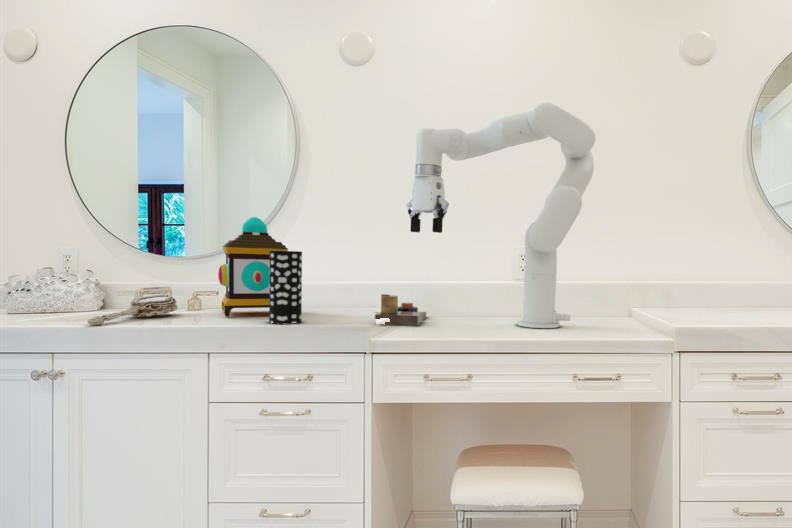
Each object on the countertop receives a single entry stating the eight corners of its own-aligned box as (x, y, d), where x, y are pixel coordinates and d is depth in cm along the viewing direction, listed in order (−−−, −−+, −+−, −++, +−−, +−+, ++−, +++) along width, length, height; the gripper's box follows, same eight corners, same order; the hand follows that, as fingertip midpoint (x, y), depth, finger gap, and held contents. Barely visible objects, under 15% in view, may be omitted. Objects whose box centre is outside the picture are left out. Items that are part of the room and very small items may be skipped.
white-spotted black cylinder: (290, 319, 160) (290, 251, 159) (307, 322, 155) (308, 251, 154) (263, 322, 153) (263, 250, 152) (280, 325, 149) (280, 251, 147)
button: (413, 308, 175) (413, 302, 175) (411, 309, 171) (411, 303, 171) (402, 307, 175) (402, 302, 175) (400, 308, 171) (400, 303, 171)
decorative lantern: (219, 318, 157) (219, 213, 155) (216, 311, 174) (216, 216, 172) (294, 316, 167) (294, 217, 165) (284, 309, 184) (284, 220, 182)
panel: (422, 322, 165) (422, 311, 165) (417, 326, 155) (417, 315, 155) (377, 320, 165) (377, 310, 165) (369, 324, 155) (369, 313, 155)
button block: (426, 317, 178) (426, 306, 178) (422, 320, 169) (422, 309, 169) (392, 316, 178) (392, 305, 177) (386, 319, 169) (386, 308, 168)
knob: (399, 312, 162) (399, 294, 162) (396, 313, 158) (396, 295, 157) (382, 311, 162) (383, 293, 162) (379, 313, 157) (379, 295, 157)
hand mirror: (65, 315, 135) (150, 294, 165) (72, 337, 136) (155, 313, 166) (105, 307, 134) (183, 288, 164) (112, 330, 135) (188, 307, 165)
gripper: (458, 173, 157) (455, 233, 158) (418, 176, 168) (416, 232, 169) (438, 169, 151) (436, 231, 152) (399, 172, 162) (397, 231, 163)
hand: (426, 232), depth 161 cm, fingers open, 9 cm apart
